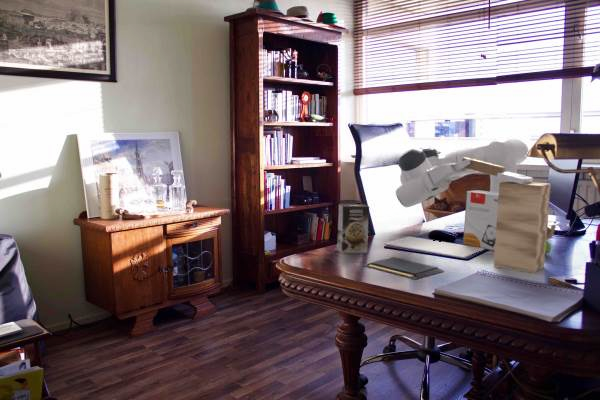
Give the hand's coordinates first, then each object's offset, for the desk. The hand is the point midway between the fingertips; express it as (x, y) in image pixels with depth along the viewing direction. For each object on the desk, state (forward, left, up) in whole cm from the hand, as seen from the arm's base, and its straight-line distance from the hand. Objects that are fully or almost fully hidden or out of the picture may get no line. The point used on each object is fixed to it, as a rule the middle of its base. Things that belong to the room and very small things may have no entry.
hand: (472, 160), depth 168 cm
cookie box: (+19, -33, -32) cm, 50 cm away
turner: (0, +7, -4) cm, 8 cm away
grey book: (+27, -8, -33) cm, 44 cm away
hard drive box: (-22, -1, -32) cm, 39 cm away
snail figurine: (-23, +17, -32) cm, 43 cm away
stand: (-1, +16, -32) cm, 36 cm away
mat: (-8, -15, -32) cm, 36 cm away
